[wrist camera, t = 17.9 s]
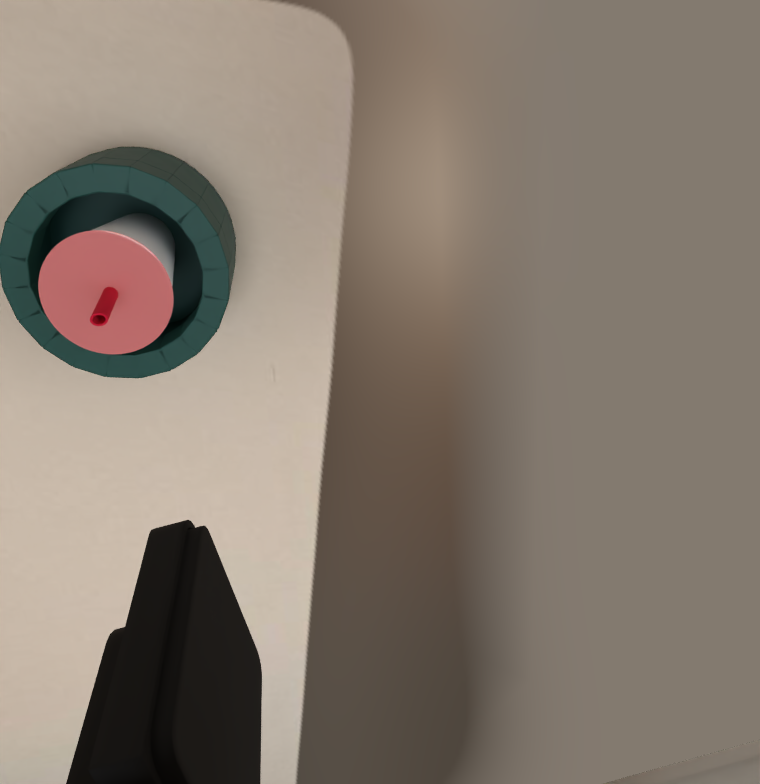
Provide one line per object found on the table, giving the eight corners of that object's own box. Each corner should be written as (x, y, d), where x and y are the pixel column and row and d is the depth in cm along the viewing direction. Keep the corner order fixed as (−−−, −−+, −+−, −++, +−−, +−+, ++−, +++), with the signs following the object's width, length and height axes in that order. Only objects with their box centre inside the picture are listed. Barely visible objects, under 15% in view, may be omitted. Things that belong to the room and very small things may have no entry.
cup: (214, 261, 38) (191, 339, 27) (132, 311, 39) (79, 407, 28) (152, 173, 36) (101, 220, 25) (66, 228, 36) (-20, 297, 26)
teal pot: (13, 172, 35) (-43, 195, 29) (202, 126, 36) (187, 139, 29) (89, 347, 40) (55, 400, 33) (257, 304, 40) (255, 349, 34)
